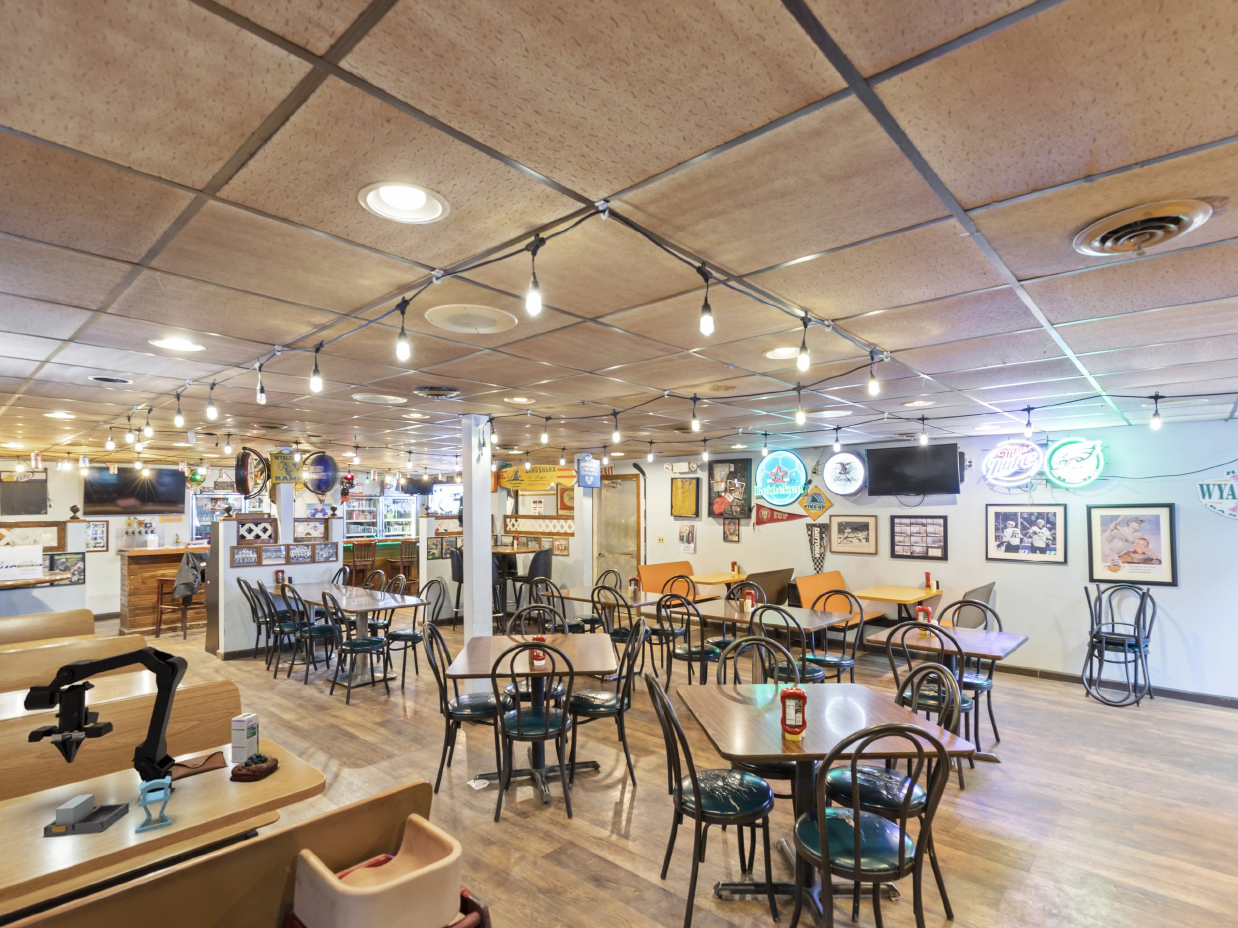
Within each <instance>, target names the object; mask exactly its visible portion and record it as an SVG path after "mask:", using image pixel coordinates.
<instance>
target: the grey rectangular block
mask: <svg viewBox="0 0 1238 928" xmlns="http://www.w3.org/2000/svg"><path fill="white" fill-rule="evenodd" d="M94 806H95V794H94V793H92V794H91V793H90V794H80V795H79V794H77V795H76V796H75V797H73V798H72V799H70V800H68V801H67V802H65V803H64V804H62V805H60V806H59V807H57V808H56V809H55V820H56V825H62V824H74V823H75V822H77V821H78V820H80V819H81V818H82V817H84V816H85V815H87V814H88V813H90V812H91V811H93V810H94Z"/></svg>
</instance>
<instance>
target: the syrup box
mask: <svg viewBox="0 0 1238 928" xmlns="http://www.w3.org/2000/svg"><path fill="white" fill-rule="evenodd" d="M259 723H260V713H257V712H244V713H242V714H240V715H239V714H238V715H237V716H235V717H232V718H231V762H232V763H236V764H237V763H238V764H240V763H243V762H244V761H245V760H247V759H248V758H249V757H250V756H254V757H255V756H256V754H260V752H259V751H260V743H259V742H260V737H259V736H260V730H259V729H260V728H259V727H260V725H259Z"/></svg>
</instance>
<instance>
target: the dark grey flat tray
mask: <svg viewBox="0 0 1238 928" xmlns="http://www.w3.org/2000/svg"><path fill="white" fill-rule="evenodd" d="M129 808H130V803H129V802H123V803H111V804H98V805H94V810H93V811H91V812H90V813H88V814H87V815H85V816H84V817H82V818H81V819H80V820H78V821H77V822H75V823H74V824H62V825H56V819H54V820H53V821H52V822H50V823H48V824H47V825H45V826H44V827H43V838H49V837H58V836H59V837H60V836H70V835H81V834H93V833H95V834H96V833H103V832H104V831H106V829H108V828H110V826H112V825H113V824H115V823H116V822H117V821H118V820H120V819H121V818H122V817H123V816H125V815H127V814H128V813H129V810H130V809H129Z"/></svg>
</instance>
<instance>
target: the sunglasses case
mask: <svg viewBox="0 0 1238 928" xmlns="http://www.w3.org/2000/svg"><path fill="white" fill-rule="evenodd" d="M228 767H229V765H228V764H227V761H226V759H225V756H224V752H223V751H222V750H221V751H220V750H218V751H215V752H213V753H209V754H205V755H201V756H196V757H193V758H189V759H185V760H181V761H177V762H176V761H175V763H174V766H173V767H172V768H171V769H170V770H169V771H172V782H175V781H179V780H183V779H187V778H190V777H193V776H196V775H201V774H204V773H207V772H212V771H215V770H220V769H224V768H228Z"/></svg>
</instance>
